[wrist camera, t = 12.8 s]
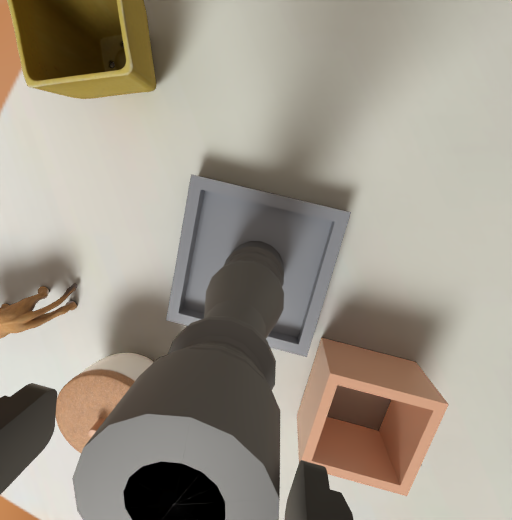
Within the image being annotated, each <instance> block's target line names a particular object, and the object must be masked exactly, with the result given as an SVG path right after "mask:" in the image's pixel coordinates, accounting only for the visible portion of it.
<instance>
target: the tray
mask: <svg viewBox="0 0 512 520" xmlns="http://www.w3.org/2000/svg"><path fill="white" fill-rule="evenodd" d="M350 214H351V212H347V211H343V210H339V209H335V208H331V207H327V206H322V205H318V204H314V203H310V202H306V201H302V200H297V199H293V198H289V197H285V196H281V195H276V194H272V193H268V192H264V191H260V190H255V189H251V188H247V187H243V186H239V185H234V184H230V183H226V182H222V181H218V180H213V179H209V178H205V177H201V176H196V175H191V179H190V184H189V190H188V196H187V202H186V208H185V214H184V219H183V225H182V231H181V237H180V243H179V248H178V254H177V260H176V266H175V272H174V278H173V283H172V289H171V295H170V301H169V307H168V313H167V318H166V320H167V321H171V322H175V323H179V324H182V325H186V326H188V325H189V324H190V323H192V322H195V321H198V320H201V319H204V312H205V298H206V290H207V288H208V285H209V283H210V280H211V278H212V277H213V276H214V275H215V274H216V273H217V272H218V271H219V270H220V269H221V268H222V267H223V266H224V264H225V261H226V259H227V258H228V257H229V255H230V254H231V253H232V252H233V251H234V250H235V249H236V248H237V247H238V246H239V245H241V244H244V243H246V242H249V241H262V242H264V243H267V244H269V245H271V246H273V247H274V249H275V250H276V251H277V252H278V253H279V254H280V256H281V258H282V261H283V264H284V284H283V286H282V288H283V291H284V309H283V312H282V314H281V316H280V318H279V320H278V322H277V323H276V325H275V326H274V328H273V329H272V331H271V332H270V334H269V335H268V337H267V338H266V340H267V341H268V344H269V346H270V348H274V349H278V350H282V351H285V352H289V353H293V354H297V355H301V356H305V357H307V355H308V351H309V348H310V345H311V341H312V338H313V335H314V332H315V328H316V325H317V322H318V319H319V315H320V312H321V309H322V305H323V302H324V299H325V296H326V292H327V289H328V286H329V282H330V279H331V276H332V273H333V269H334V266H335V263H336V260H337V256H338V253H339V250H340V246H341V243H342V240H343V237H344V233H345V230H346V227H347V224H348V220H349V217H350Z"/></svg>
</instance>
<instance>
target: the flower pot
mask: <svg viewBox="0 0 512 520" xmlns="http://www.w3.org/2000/svg"><path fill="white" fill-rule="evenodd" d="M7 2H8V5H9V9H10V13H11V17H12V21H13V26H14V30H15V36H16V41H17V46H18V51H19V56H20V60H21V66H22V71H23V75H24V78H25V80H26V83H27V86H28V87H32V88H36V89H40V90H44V91H48V92H52V93H56V94H60V95H64V96H68V97H73V98H81V99H90V98H99V97H107V96H114V95H122V94H130V93H140V92H150V91H153V90H155V88H156V79H155V72H154V65H153V58H152V51H151V44H150V37H149V29H148V20H147V14H146V9H145V5H144V1H143V0H7ZM122 42H123V44H124V48H123V47H122ZM110 62H114V67H113V68H111V67H110Z"/></svg>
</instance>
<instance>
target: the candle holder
mask: <svg viewBox="0 0 512 520" xmlns="http://www.w3.org/2000/svg"><path fill="white" fill-rule="evenodd" d="M283 284H284V264H283V261H282V258H281V256H280V254H279V253H278V252H277V251H276V250H275V249H274V247H273V246H271V245H269V244H267V243H264V242H262V241H249V242H246V243H244V244H241V245H239V246H238V247H237V248H236V249H235V250H234V251H233V252H232V253H231V254H230V255H229V257H228V258H227V259H226V261H225V264H224V266H223V267H222V268H221V269H220V270H219V271H218V272H217V273H216V274H215V275H214V276H213V277H212V278H211V280H210V283H209V285H208V288H207V290H206V298H205V312H204V319H201V320H198V321H195V322H192V323H190V324H189V325H188V326H187V327H186V328H185V329H184V330H183V331H182V332H181V333H180V334H178V335H177V336H176V337H175V339H174V340H173V342H172V345H171V347H170V350H169V352H168V355H166V356H163V357H160V358H158V359H157V360H156V361H155V362H154V363H153V364H152V365H151V366H149V367H148V368H147V369H146V370H145V371H144V372H143V373H142V374H141V375H140V376H139V377H138V378H137V379H136V381H135V382H134V383H133V385H132V386H131V387H130V388H129V390H128V391H127V392H126V394H125V395H124V396H123V397H122V399H121V400H120V401H119V403H118V404H117V405H116V406H115V408H114V409H113V410H112V412H111V413H110V414H109V415H108V417H107V418H106V419H105V421H104V422H103V423H102V425H101V426H100V427H99V428H98V430H97V431H96V432H95V434H94V435H93V436H92V437H91V439H90V440H89V441H88V443H87V444H86V445H85V446H84V448H83V450H82V453H81V456H80V459H79V461H78V464H77V467H76V470H75V473H74V476H73V485H74V491H75V498H76V504H77V511H78V512H79V514H80V515H81V517H82V519H83V520H279V489H280V409H279V407H278V404H277V402H276V400H275V397H274V395H273V393H272V389H273V387H274V385H275V365H276V361H275V358H274V356H273V353H272V351H271V349H270V346H269V344H268V341H267V340H266V338H267V337H268V335H269V334H270V332H271V331H272V329H273V328H274V326H275V325H276V323H277V322H278V320H279V318H280V316H281V314H282V312H283V309H284V291H283V288H282V286H283Z"/></svg>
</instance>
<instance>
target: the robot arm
mask: <svg viewBox="0 0 512 520" xmlns="http://www.w3.org/2000/svg"><path fill="white" fill-rule="evenodd" d="M56 403H57V391H56V390H55V389H51V388H48V387H44V386H41V385H37V384H33V383H31V384H28V385H26V386H25V387H23V388H22V389H20V390H19V391H18V392H16V393H15V394H14V395H12V396H11V397H8V396H3V397H1V398H0V494H1V493H2V492H3V491H4V490H5V489H6V488H7V487H8V486H9V485H10V484H11V483H12V482H13V481H14V480H15V479H16V478H17V477H18V476H19V475H20V474H21V472H22V471H23V470H24V469H25V468H26V467H27V466H28V465H29V464H30V463H31V462H32V461H33V460H34V459H35V458H36V457H37V456H38V455H39V454H40V453H41V452H42V450H43V449H44V448H45V447H46V445H47V444H48V442H49V441H50V439H51V437H52V434H53V432H54V427H55V415H56ZM285 520H353V515H352V512H351V510H350V508H349V507H348V505H347V503H346V501H345V499H344V497H343V495H342V493H340V492H337V491H333V490H330V488H329V481H328V474H327V470H326V467H324V466H321V465H317V464H314V463H310V462H307V461H303V460H301V461H300V463H299V465H298V468H297V471H296V474H295V477H294V480H293V484H292V487H291V490H290V493H289V496H288V499H287V504H286V511H285Z"/></svg>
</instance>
